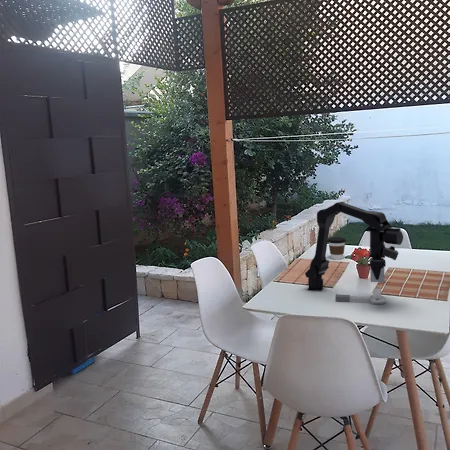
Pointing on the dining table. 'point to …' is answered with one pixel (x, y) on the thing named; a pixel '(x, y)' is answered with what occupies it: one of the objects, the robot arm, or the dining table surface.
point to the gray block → (381, 277)
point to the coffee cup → (336, 247)
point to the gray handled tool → (363, 298)
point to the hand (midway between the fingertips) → (377, 277)
